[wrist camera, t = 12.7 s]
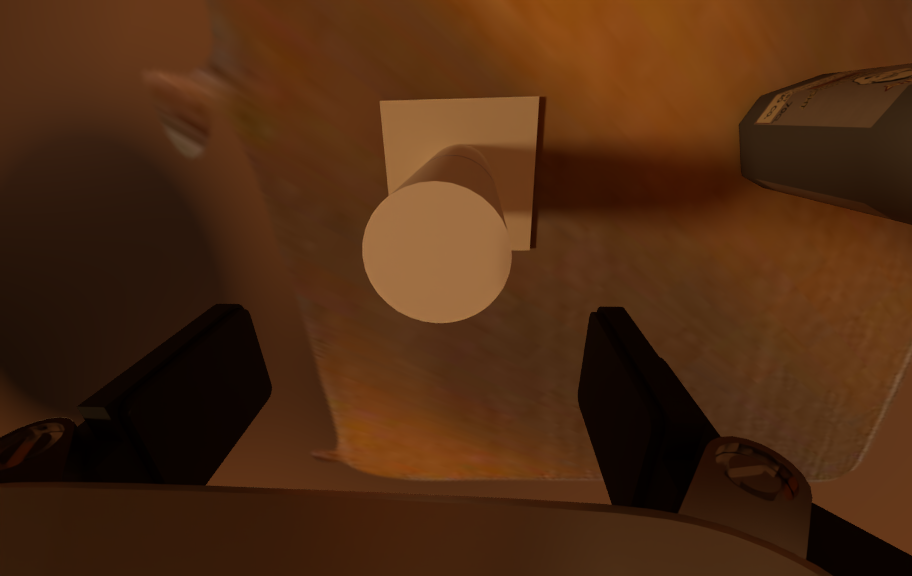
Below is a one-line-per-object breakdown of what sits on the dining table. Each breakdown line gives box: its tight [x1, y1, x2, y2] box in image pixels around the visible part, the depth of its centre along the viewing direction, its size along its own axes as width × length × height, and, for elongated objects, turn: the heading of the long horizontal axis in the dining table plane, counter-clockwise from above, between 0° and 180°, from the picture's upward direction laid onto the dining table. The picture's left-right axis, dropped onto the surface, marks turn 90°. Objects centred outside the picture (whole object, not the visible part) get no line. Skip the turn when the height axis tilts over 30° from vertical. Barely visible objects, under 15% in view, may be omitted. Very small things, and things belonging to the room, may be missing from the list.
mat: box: [380, 96, 539, 250], centre depth 41 cm, size 16×16×1 cm
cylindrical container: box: [363, 144, 512, 323], centre depth 29 cm, size 7×7×25 cm
